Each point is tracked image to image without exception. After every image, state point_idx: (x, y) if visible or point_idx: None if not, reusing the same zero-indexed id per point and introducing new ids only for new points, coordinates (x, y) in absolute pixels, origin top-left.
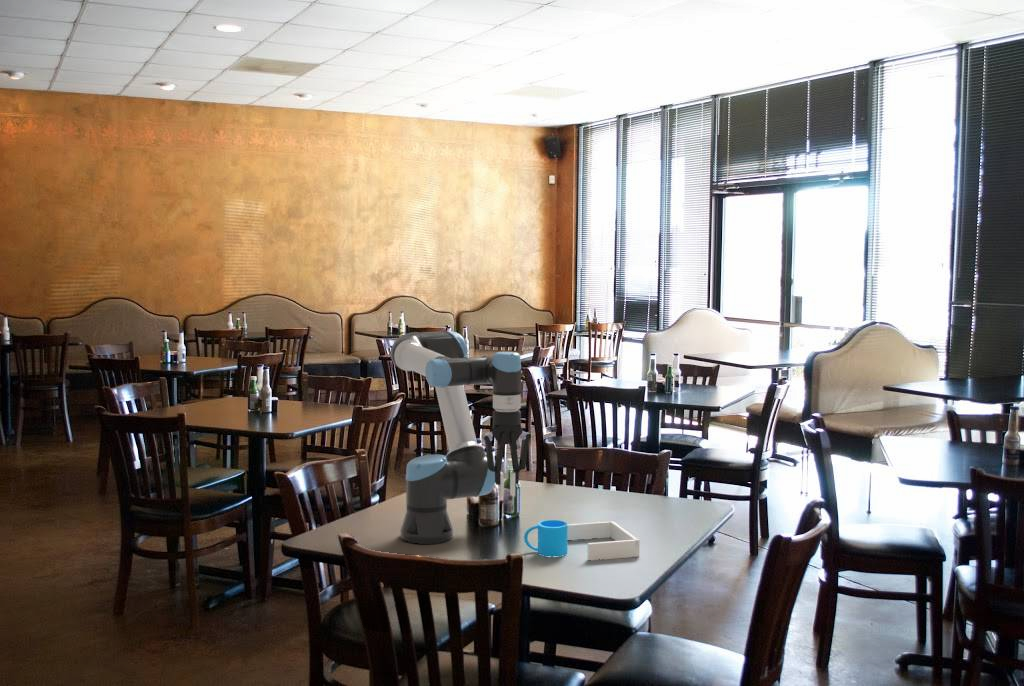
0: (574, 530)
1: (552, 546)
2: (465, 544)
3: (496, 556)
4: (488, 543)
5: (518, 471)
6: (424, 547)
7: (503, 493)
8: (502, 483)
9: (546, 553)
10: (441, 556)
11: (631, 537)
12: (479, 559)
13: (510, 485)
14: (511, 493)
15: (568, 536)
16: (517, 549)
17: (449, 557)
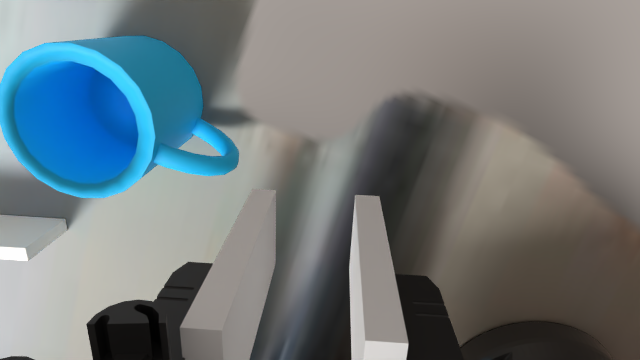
0: (8, 234)
1: (136, 42)
2: None
3: (371, 121)
4: (348, 274)
5: (123, 312)
6: (580, 298)
7: (356, 210)
8: (372, 260)
9: (174, 53)
10: (571, 185)
11: None
12: (448, 104)
13: (261, 300)
14: (272, 233)
15: (47, 225)
16: (267, 179)
17: (548, 164)
